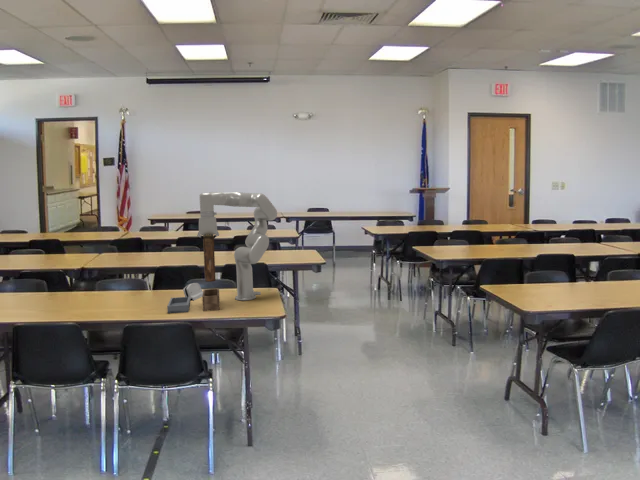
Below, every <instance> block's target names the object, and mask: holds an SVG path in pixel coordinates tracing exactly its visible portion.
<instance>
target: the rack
mask: <svg viewBox="0 0 640 480" xmlns="http://www.w3.org/2000/svg"><path fill="white" fill-rule="evenodd" d="M202 291H203V296H202V297H201V299H202V311H203V312H207V310H210V311H220V307H219V306H221V305H220V304H221V303H220V301H221V300H220V288H207V289H205V288H204V289H203V290H202Z"/></svg>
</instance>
